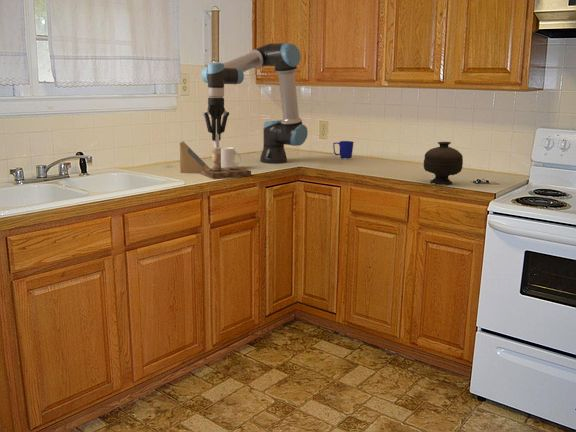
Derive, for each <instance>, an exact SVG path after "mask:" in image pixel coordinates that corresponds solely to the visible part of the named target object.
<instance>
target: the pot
mask: <svg viewBox="0 0 576 432" xmlns="http://www.w3.org/2000/svg"><path fill="white" fill-rule="evenodd" d="M437 144H438V145H439V146H436V147H433V148H430V149H429V150H427V151H426V152H425V154H424V160H423V169H424V170H425V172H428V173H431V174H433V175H435V177H434V178H433V179H431V180H430V182H431V183H430V182H429V183H430V184H432V183H435V184H434V185H436V184H452V185H453V181H451V180H450V179H449V176H455V175H457V174H459V173H461V171H462V169H463V167H464V159H463V154H462V153H461V152H460V151H459V150H458V149H456V148H453V147H450V146H449V145H451V144H452V142H451V141H439V142H437Z"/></svg>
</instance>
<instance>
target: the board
mask: <svg viewBox="0 0 576 432" xmlns="http://www.w3.org/2000/svg"><path fill="white" fill-rule="evenodd" d="M200 174H201V175H203V176H204V177H207V178H209V179H212V180H216V179H217V180H218V179H228V178H229V179H230V178H241V177H251V176H252V170H249V169H247V168H242V167H241V166H234V167H226V168H221V171H220V172H212V167H210V169H201V173H200Z"/></svg>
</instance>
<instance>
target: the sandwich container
mask: <svg viewBox="0 0 576 432" xmlns="http://www.w3.org/2000/svg"><path fill="white" fill-rule="evenodd" d="M179 160H180V161H179V162H180V163H179V164H180V165H179V166H180V167H179V168H180V172H179V173H180V174H201V169H211V167H210V166H209V165H208V164H206V163H205V162H204V161H203V159H201V158H200V156H198V155H197V154H196V152H194V151H193V149H192V148H191V147H190V146H189V145H188V144H187V143H185V141H183V140H182V141H181V142H179Z"/></svg>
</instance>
